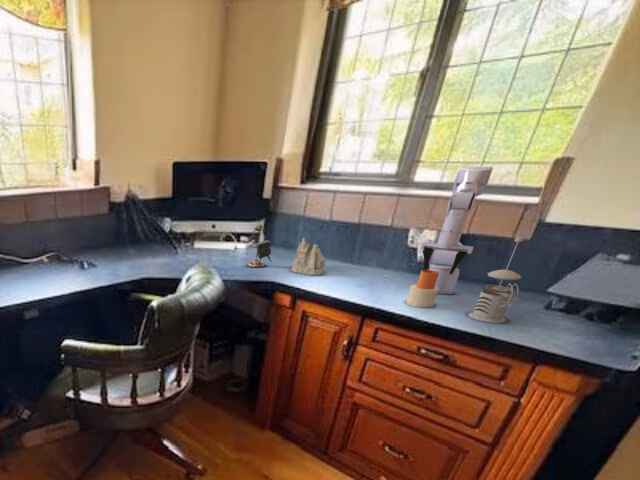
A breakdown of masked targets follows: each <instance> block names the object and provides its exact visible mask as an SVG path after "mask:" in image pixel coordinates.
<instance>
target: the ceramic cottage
mask: <svg viewBox="0 0 640 480" xmlns="http://www.w3.org/2000/svg"><path fill="white" fill-rule="evenodd" d="M310 244H311V243H308V242H307V240H306V238H305V237H303V238H302V241H301V242H299V243H298V246H297V249H296V254H295V258H294V260H293V263H292V266H291V269H290V271H291V272H293V273H296V274H297V273H298V274H302V275H307V276H323V275H325V274H326V270H325V266H326V263H325V262H326V261H327V259H326V257H325V256H324V255H323V253H322V251H321V248H320V247H318V244H313V246H312V248H311V245H310ZM311 249H312V250H311Z"/></svg>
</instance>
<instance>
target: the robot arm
mask: <svg viewBox="0 0 640 480" xmlns="http://www.w3.org/2000/svg"><path fill="white" fill-rule="evenodd" d="M493 169H494V167H493V166H492V165H490V166H462V165H461V166H460V167H458V169H457V172H456V175H455V178H454V181H453V186H452V194H451V195H450V199H449V200H448V204H447V209H446V214H445V219H444V222H443V224H442V227H441V230H440V233H439V237H438V239H437V242H426V241H423V242H421V245H420V249H421V250H422V249H423V250H422V255H423V256H422V257H423V261H424V262H423V264H424V265H423V270H434V271H438V272H439V275H438V278H437V281H436V284H435V287H438V288H439V291H438V293H437V294H443V295H444V294H445V295H446V294H447V295H453V294H454V290H455V288H456V285H457V283H458V280H459V277H460V269H459V268H458V267H459V265H460V263H461V262H462V260H463V259H464V258H465V257H466V256H467V255H468V254H469V255H470V254H472V253H473V250H474V246H469V245H463V244H462V242H460V240H461V236H462V234H463V231H464V228H465V226H466V222H467V219H468V216H469V213H470V212H471V211H472V209H473V207H474V204H475V201H476V198H477V197H479V196H481V195H483V193H484V192H485V190H486V188H487V185H488V184H489V181H490V178H491V176H492V172H493Z"/></svg>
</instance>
